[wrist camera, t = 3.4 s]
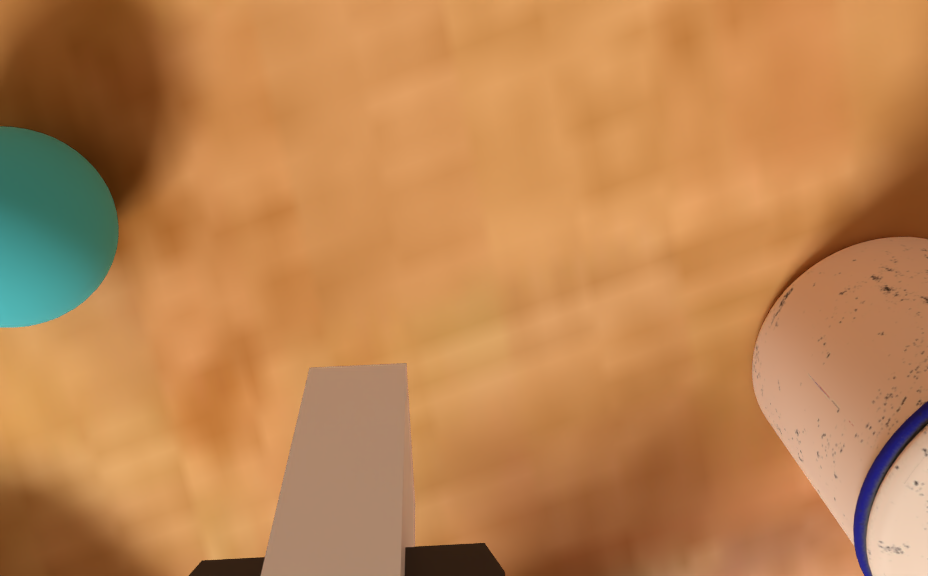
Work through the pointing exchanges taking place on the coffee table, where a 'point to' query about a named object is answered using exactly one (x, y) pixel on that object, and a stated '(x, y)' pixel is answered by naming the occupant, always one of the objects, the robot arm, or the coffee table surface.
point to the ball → (50, 228)
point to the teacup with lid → (857, 394)
